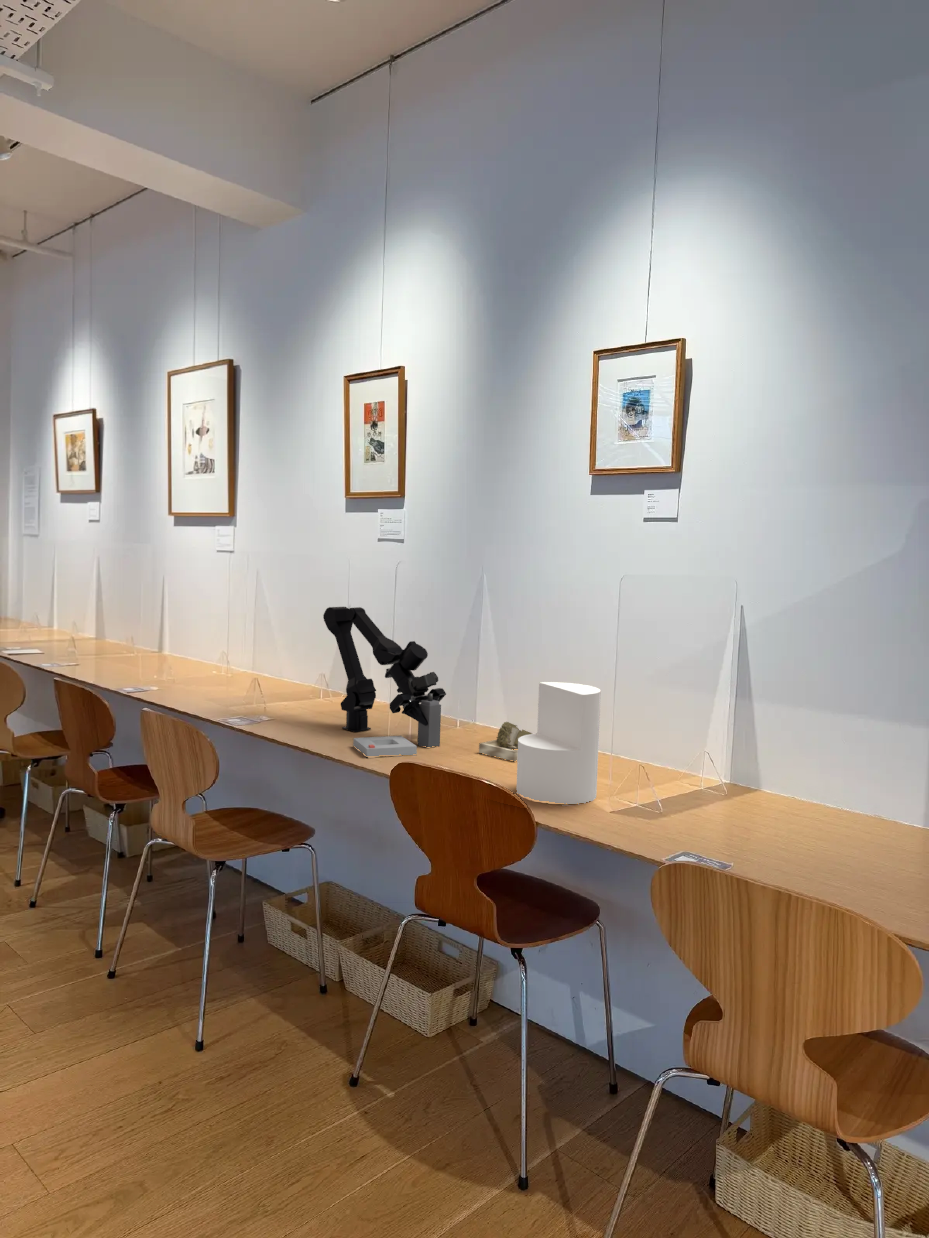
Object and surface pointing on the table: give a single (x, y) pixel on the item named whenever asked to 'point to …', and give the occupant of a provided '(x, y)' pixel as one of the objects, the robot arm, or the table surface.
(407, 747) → the socket
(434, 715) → the plug
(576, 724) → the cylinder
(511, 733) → the toy
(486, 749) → the tray
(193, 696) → the table surface
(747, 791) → the table surface
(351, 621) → the robot arm
